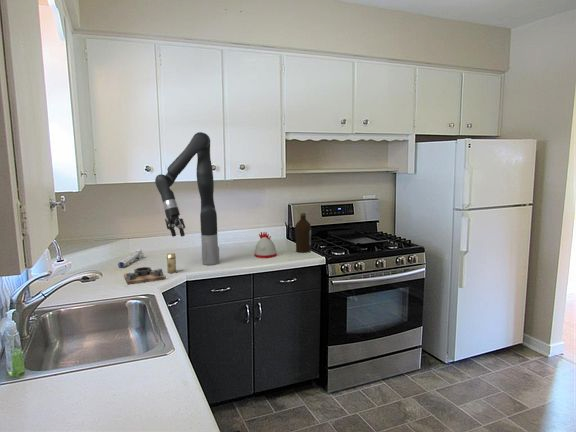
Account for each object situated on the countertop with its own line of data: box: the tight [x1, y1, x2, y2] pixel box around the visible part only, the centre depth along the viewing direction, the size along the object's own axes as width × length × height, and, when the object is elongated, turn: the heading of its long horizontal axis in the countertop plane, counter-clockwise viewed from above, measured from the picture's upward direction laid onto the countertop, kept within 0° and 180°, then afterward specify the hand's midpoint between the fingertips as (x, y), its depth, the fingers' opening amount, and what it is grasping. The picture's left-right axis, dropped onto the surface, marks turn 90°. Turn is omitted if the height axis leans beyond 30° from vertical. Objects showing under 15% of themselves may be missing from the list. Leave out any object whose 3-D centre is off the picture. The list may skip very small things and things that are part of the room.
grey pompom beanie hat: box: [253, 231, 277, 259], centre depth 259 cm, size 14×14×15 cm
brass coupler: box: [166, 252, 177, 274], centre depth 223 cm, size 5×5×10 cm
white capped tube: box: [117, 248, 145, 269], centre depth 246 cm, size 5×7×25 cm
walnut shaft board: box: [123, 269, 166, 286], centre depth 213 cm, size 18×16×2 cm
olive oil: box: [294, 212, 312, 254], centre depth 268 cm, size 11×11×25 cm
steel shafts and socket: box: [126, 266, 164, 280], centre depth 213 cm, size 18×13×3 cm
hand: (178, 236), depth 229 cm, fingers open, 8 cm apart
